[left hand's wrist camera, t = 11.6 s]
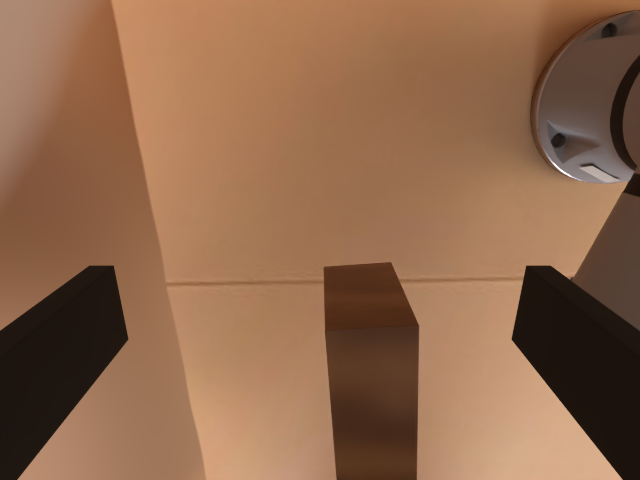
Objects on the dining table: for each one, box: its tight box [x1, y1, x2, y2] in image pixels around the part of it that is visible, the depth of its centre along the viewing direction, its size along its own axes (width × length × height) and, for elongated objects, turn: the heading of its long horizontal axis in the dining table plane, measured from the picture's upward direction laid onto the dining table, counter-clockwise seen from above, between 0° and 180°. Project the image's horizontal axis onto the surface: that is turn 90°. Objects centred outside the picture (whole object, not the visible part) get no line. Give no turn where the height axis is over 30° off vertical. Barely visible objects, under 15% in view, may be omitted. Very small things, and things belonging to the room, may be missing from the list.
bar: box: [324, 262, 419, 480], centre depth 31 cm, size 24×5×9 cm, turn 4°
